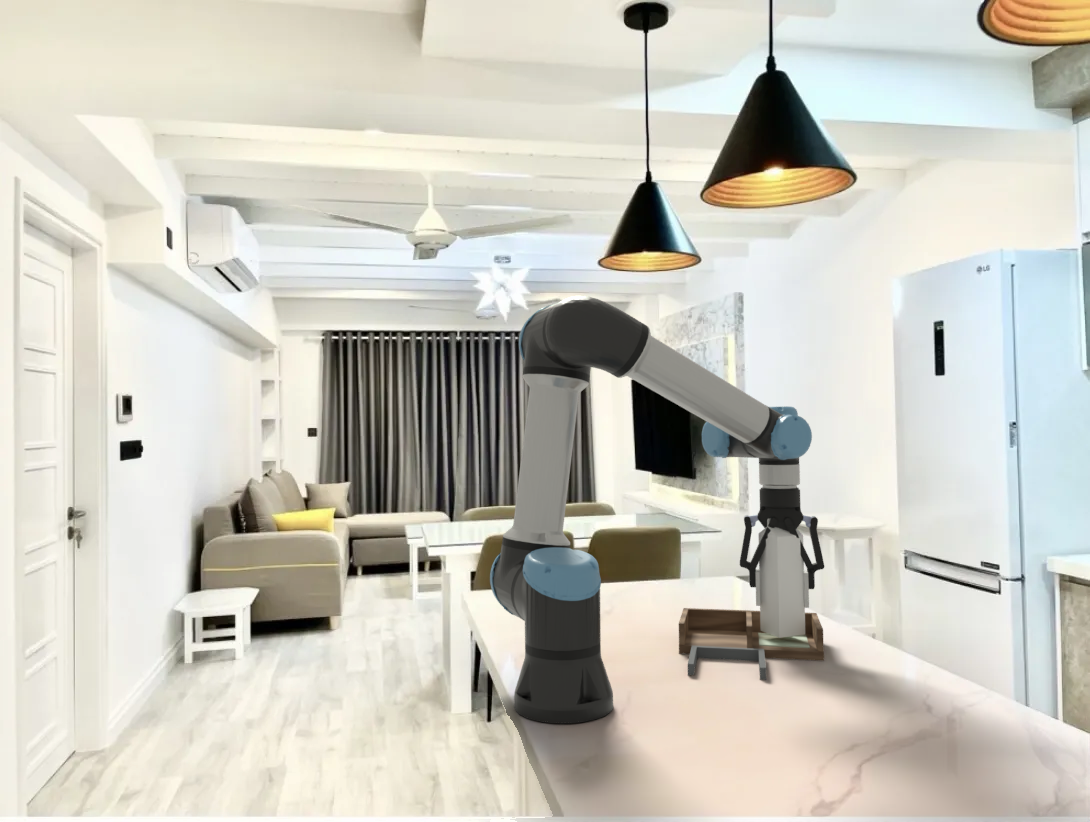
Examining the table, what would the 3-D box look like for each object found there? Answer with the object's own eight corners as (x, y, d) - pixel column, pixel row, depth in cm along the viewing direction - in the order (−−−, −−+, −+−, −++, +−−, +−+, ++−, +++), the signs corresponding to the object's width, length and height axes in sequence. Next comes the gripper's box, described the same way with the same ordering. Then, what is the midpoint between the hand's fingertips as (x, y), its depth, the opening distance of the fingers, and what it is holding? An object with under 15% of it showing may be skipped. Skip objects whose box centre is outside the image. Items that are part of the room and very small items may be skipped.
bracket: (766, 679, 134) (765, 667, 134) (687, 675, 137) (687, 663, 137) (764, 659, 146) (764, 648, 146) (691, 656, 149) (691, 645, 149)
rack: (824, 660, 145) (823, 630, 145) (679, 653, 151) (678, 624, 151) (817, 640, 159) (816, 612, 159) (684, 634, 165) (683, 608, 165)
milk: (760, 631, 155) (756, 517, 156) (786, 628, 157) (782, 515, 158) (779, 638, 149) (776, 519, 150) (806, 634, 152) (803, 518, 152)
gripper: (834, 485, 155) (837, 603, 155) (724, 485, 160) (726, 599, 160) (839, 488, 148) (842, 611, 147) (723, 487, 153) (725, 607, 152)
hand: (782, 605), depth 154 cm, fingers closed on milk, 8 cm apart
